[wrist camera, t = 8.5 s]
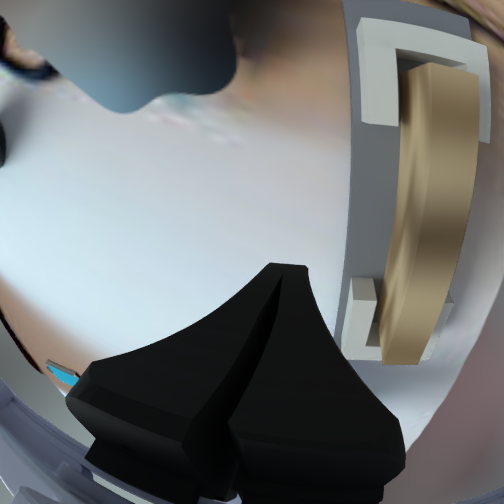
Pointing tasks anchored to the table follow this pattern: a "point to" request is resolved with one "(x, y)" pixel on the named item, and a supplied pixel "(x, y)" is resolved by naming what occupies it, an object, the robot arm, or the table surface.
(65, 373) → the phone stand
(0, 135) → the supplement bottle
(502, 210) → the table surface
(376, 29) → the cradle
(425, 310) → the slat
